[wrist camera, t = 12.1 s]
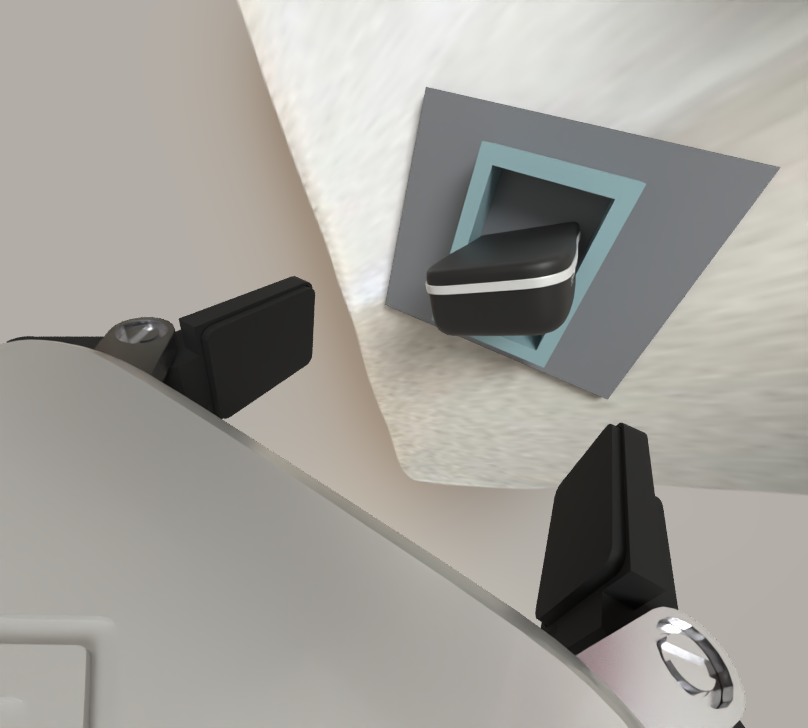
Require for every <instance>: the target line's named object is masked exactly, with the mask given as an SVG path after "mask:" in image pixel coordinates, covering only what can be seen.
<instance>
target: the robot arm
mask: <svg viewBox="0 0 808 728" xmlns="http://www.w3.org/2000/svg"><path fill="white" fill-rule="evenodd" d="M314 304H315V292H314V290H313V289H312V285H311V284H310V283H309V282H307V281H304V280H302V279H300V278H298V277H295V276H293V277H289V278H287V279H284V280H281V281H279V282H276V283H274V284H271V285H268V286H265V287H262V288H260V289H257V290H254V291H252V292H249V293H247V294H244V295H241V296H238V297H236V298H233V299H230V300H228V301H225V302H222V303H220V304H217V305H214V306H211V307H209V308H206V309H203V310H201V311H198V312H195V313H193V314H190V315H187V316H185V317H182V318H179V322H180V327H181V330H179V331H176V332H175V328H174V326H173V324H172V323H170V322H169V321H167V320H164V319H161V318H154V317H141V318H135V319H130V320H126V321H123V322H121V323H119V324H117V325H115V326H114V327H112V328H111V329H110V330H109V331H108V333H107V334H106V335H105V336H104V337H33V336H32V337H31V336H27V337H19V338H15V339H12V340H9V341H7V343H3V344H0V728H745V727H744V726H743V724H742V723H741V721H740V719H741V717H742V715H743V713H744V711H745V693H744V689H743V686H742V683H741V680H740V677H739V675H738V673H737V671H736V669H735V667H734V665H733V663H732V661H731V659H730V658H729V656H728V655H727V654H726V652H725V651H724V650H723V648H722V647H721V645H720V644H719V643H718V641H717V640H716V639H715V638H714V637H713V636H712V635H711V634H710V633H709V632H708V631H707V630H706V629H705V628H704V627H703V626H702V625H700V624H699V623H698V622H696V621H695V620H694V619H692V618H691V617H690V616H688V615H686V614H684V613H682V612H680V611H678V606H677V599H676V593H675V585H674V578H673V571H672V565H671V558H670V552H669V544H668V538H667V531H666V524H665V517H664V510H663V505H662V502H661V500H660V499H659V498H658V497H656V496H655V493H654V485H653V477H652V469H651V462H650V454H649V446H648V438H647V434H646V433H644V432H642V431H640V430H637V429H635V428H633V427H631V426H628V425H626V424H624V423H619V424H618V425H617V426H614V425H612V424H609V425H607V426H606V428H605V429H604V430H603V431H602V433H601V434H600V435H599V436H598V438H597V439H596V440H595V441H594V443H593V444H592V445H591V446H590V448H589V449H588V450H587V451H586V453H585V454H584V455H583V456H582V458H581V459H580V460H579V461H578V463H577V464H576V465H575V466H574V468H573V469H572V470H571V471H570V473H569V474H568V475H567V476H566V478H565V479H564V480H563V481H562V483H561V484H560V485H559V487H558V489H557V491H556V494H555V498H554V504H553V510H552V516H551V522H550V528H549V534H548V540H547V546H546V552H545V558H544V564H543V570H542V575H541V581H540V587H539V593H538V599H537V605H536V613H535V614H536V618H537V619H538V620H540V621H541V622H542V624H541V628H539V627H538V626H537V625H535V624H534V623H532V622H531V621H530V620H528V619H527V618H526V617H524V616H523V615H522V614H520V613H519V612H517V611H516V610H515V609H513V608H512V607H510V606H509V605H507V604H505V603H504V602H503V601H501V600H500V599H498V598H497V597H495V596H494V595H492V594H491V593H489V592H488V591H486V590H484V589H483V588H482V587H480V586H479V585H477V584H476V583H474V582H473V581H471V580H470V579H468V578H467V577H465V576H464V575H462V574H461V573H459V572H458V571H456V570H455V569H453V568H452V567H451V566H449V565H448V564H446V563H445V562H443V561H441V560H440V559H438V558H437V557H435V556H434V555H432V554H431V553H429V552H428V551H426V550H424V549H423V548H421V547H420V546H418V545H416V544H415V543H413V542H412V541H410V540H409V539H407V538H406V537H404V536H403V535H401V534H400V533H398V532H396V531H395V530H394V529H392V528H390V527H389V526H387V525H386V524H384V523H383V522H381V521H380V520H378V519H377V518H375V517H373V516H372V515H370V514H369V513H367V512H366V511H364V510H363V509H361V508H360V507H358V506H357V505H355V504H353V503H352V502H350V501H349V500H347V499H346V498H344V497H343V496H341V495H339V494H338V493H336V492H335V491H333V490H332V489H330V488H329V487H327V486H325V485H324V484H322V483H321V482H319V481H318V480H316V479H314V478H313V477H311V476H310V475H308V474H307V473H305V472H304V471H302V470H300V469H299V468H297V467H295V466H294V465H292V464H291V463H289V462H288V461H286V460H285V459H283V458H282V457H280V456H279V455H277V454H275V453H274V452H272V451H271V450H269V449H268V448H266V447H264V446H263V445H261V444H260V443H258V442H257V441H255V440H254V439H252V438H250V437H249V436H247V435H246V434H244V433H242V432H241V431H239V430H238V429H236V428H235V427H233V426H231V425H230V424H228V423H227V422H225V421H223V420H222V419H223V418H225V419H226V418H229V417H231V416H232V415H234V414H235V413H237V412H238V411H240V410H241V409H242V408H244V407H246V406H247V405H249V404H250V403H251V402H253V401H254V400H256V399H257V398H259V397H260V396H262V395H263V394H264V393H266V392H268V391H269V390H271V389H272V388H273V387H275V386H276V385H278V384H279V383H281V382H282V381H284V380H285V379H287V378H288V377H290V376H291V375H293V374H294V373H296V372H297V371H298V370H300V369H301V368H303V367H304V366H306V365H307V364H308V363H309V362H310V360H311V358H312V347H313V326H314Z"/></svg>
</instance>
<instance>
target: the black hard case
mask: <svg viewBox="0 0 808 728" xmlns="http://www.w3.org/2000/svg"><path fill="white" fill-rule="evenodd" d="M580 239H581V232H580V231H579V224H578V223H577V222H567V223H560V224H553V225H547V226H540V227H533V228H527V229H520V230H514V231H507V232H501V233H494V234H488V235H482V236H480V237H479V238H477V239H476V240H474V241H473V242H471V243H469V244H467V245H465V246H464V247H462V248H460V249H458V250H456V251H455V252H453V253H451V254H450V255H448V256H446V257H445V258H443V259H441V260H440V261H438V262H437V263H435V264H434V265H432V266H431V267H430V268H429V269H428V270H427V272H426V277H427V281H426V283H425V284H426V290H427V292H428V293H429V295H430V301H431V307H432V313H433V318H434V321H435V325H436V326H437V328H438V329H439V330H440V331H442V332H444V333H445V334H447V335H453V336H527V335H542V334H546V333H550V332H553V331H555V330H556V329H558V328H559V327H560V326H561V325H562V324H563V323H564V322H565V320H566V318H567V317H568V315H569V312H570V310H571V307H572V303H573V299H574V293H575V285H576V264H577V260H578V251H579V240H580Z"/></svg>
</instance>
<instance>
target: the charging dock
mask: <svg viewBox="0 0 808 728" xmlns="http://www.w3.org/2000/svg"><path fill="white" fill-rule="evenodd" d="M779 169H780V167H776V166H772V165H767V164H763V163H759V162H754V161H750V160H745V159H741V158H737V157H732V156H728V155H723V154H719V153H715V152H710V151H706V150H701V149H697V148H693V147H688V146H684V145H679V144H675V143H671V142H666V141H662V140H657V139H653V138H649V137H644V136H640V135H635V134H631V133H627V132H622V131H618V130H613V129H609V128H605V127H600V126H596V125H591V124H587V123H583V122H578V121H574V120H569V119H565V118H561V117H556V116H552V115H547V114H543V113H539V112H534V111H530V110H525V109H521V108H516V107H512V106H508V105H503V104H499V103H494V102H490V101H486V100H481V99H477V98H472V97H468V96H464V95H459V94H455V93H450V92H446V91H442V90H437V89H433V88H428V87H426V90H425V95H424V100H423V106H422V111H421V116H420V122H419V127H418V132H417V138H416V143H415V148H414V154H413V159H412V164H411V170H410V175H409V180H408V186H407V191H406V196H405V202H404V207H403V212H402V218H401V223H400V228H399V234H398V239H397V244H396V250H395V255H394V260H393V266H392V271H391V276H390V282H389V287H388V292H387V298H386V303H385V305H387V306H389V307H392V308H394V309H397V310H399V311H401V312H404V313H406V314H408V315H411V316H413V317H415V318H418V319H420V320H422V321H425V322H427V323H429V324H432V325H434V326H436V325H435V321H434V318H433V313H432V307H431V301H430V295H429V293H428V292H427V290H426V284H425V283H426V281H427V277H426V272H427V270H428V269H429V268H430V267H431V266H432V265H434V264H435V263H437V262H438V261H440V260H441V259H443V258H445V257H446V256H448V255H450V254H451V253H453V252H455V251H456V250H458V249H460V248H462V247H464V246H465V245H467V244H469V243H471V242H473V241H474V240H476V239H477V238H479V237H480V236H482V235H488V234H494V233H501V232H507V231H514V230H520V229H527V228H533V227H540V226H547V225H553V224H560V223H567V222H577V223H578V224H579V231H580V232H581V239H580V240H579V251H578V260H577V264H576V285H575V293H574V299H573V303H572V307H571V310H570V312H569V315H568V317H567V318H566V320H565V322H564V323H563V324H562V325H561V326H560V327H559V328H558V329H556V330H555V331H553V332H550V333H546V334H542V335H527V336H460V337H462V338H464V339H467V340H469V341H471V342H474V343H476V344H479V345H481V346H483V347H486V348H488V349H490V350H493V351H495V352H497V353H500V354H502V355H504V356H507V357H509V358H511V359H514V360H516V361H518V362H521V363H523V364H525V365H528V366H530V367H532V368H535V369H537V370H539V371H542V372H544V373H546V374H549V375H551V376H553V377H556V378H558V379H561V380H563V381H565V382H568V383H570V384H572V385H575V386H577V387H579V388H582V389H584V390H586V391H589V392H591V393H593V394H596V395H598V396H600V397H603V398H605V399H608V398H609V397H610V395H611V394H612V393H613V391H614V390H615V389H616V387H617V386H618V385H619V383H620V382H621V381H622V379H623V378H624V377H625V375H626V374H627V373H628V371H629V370H630V369H631V367H632V366H633V365H634V363H635V362H636V361H637V359H638V358H639V357H640V355H641V354H642V352H643V351H644V350H645V348H646V347H647V346H648V344H649V343H650V342H651V340H652V339H653V338H654V336H655V335H656V334H657V332H658V331H659V330H660V328H661V327H662V326H663V324H664V323H665V322H666V320H667V319H668V318H669V316H670V315H671V314H672V312H673V311H674V310H675V308H676V307H677V306H678V304H679V303H680V302H681V300H682V299H683V297H684V296H685V295H686V293H687V292H688V291H689V289H690V288H691V287H692V285H693V284H694V283H695V281H696V280H697V279H698V277H699V276H700V275H701V273H702V272H703V271H704V269H705V268H706V267H707V265H708V264H709V263H710V261H711V260H712V259H713V257H714V256H715V255H716V253H717V252H718V251H719V249H720V248H721V247H722V245H723V244H724V242H725V241H726V240H727V238H728V237H729V236H730V234H731V233H732V232H733V230H734V229H735V228H736V226H737V225H738V224H739V222H740V221H741V220H742V218H743V217H744V216H745V214H746V213H747V212H748V210H749V209H750V208H751V206H752V205H753V204H754V202H755V201H756V200H757V198H758V197H759V196H760V194H761V193H762V192H763V190H764V189H765V188H766V186H767V185H768V183H769V182H770V181H771V179H772V178H773V177H774V175H775V174H776V173H777V171H778V170H779ZM436 327H437V326H436Z"/></svg>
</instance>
